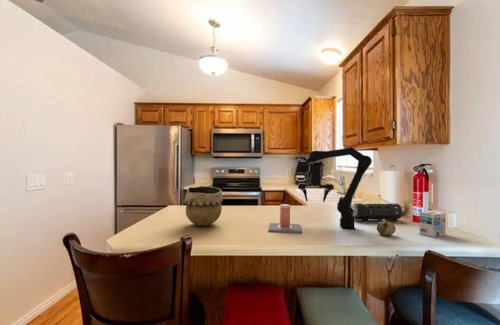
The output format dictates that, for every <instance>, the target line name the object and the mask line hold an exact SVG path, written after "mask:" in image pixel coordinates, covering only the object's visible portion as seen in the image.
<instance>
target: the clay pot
mask: <svg viewBox="0 0 500 325" xmlns="http://www.w3.org/2000/svg"><path fill="white" fill-rule="evenodd" d="M222 191H223V190H222V189H221V188H218V187H213V186H210V185H209V186H208V185H200V186H199V185H198V186H194V187H191V186H189V187H187V190H186V193H185V195H184V199H183V201H182V203H183V204H184V205H186V206H185V215H186V217H187V219H188V220H189V221H190V222H191V223H192V224H194V225H196V226H201V227H203V226H210V225H212V224H214V223H215V222H216V221H217V220H218V219H219V218H220V216H221V215H222V211H223V210H222V209H223V208H222V206H223V205H222V203H223V201H224V198H223V192H222Z"/></svg>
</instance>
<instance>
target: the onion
mask: <svg viewBox="0 0 500 325" xmlns="http://www.w3.org/2000/svg"><path fill="white" fill-rule="evenodd" d="M377 223H378V224H377V226H376V231H377V233H378V234H379V235H381V236H384V237H385V236H386V237H390V236H392V235H393V234H394V233H395V232H396V230H397V229H396V226H395V225H394V224H393V223H392V222H390V220H385V219H382V220H381V221H378V222H377Z"/></svg>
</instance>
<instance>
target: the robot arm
mask: <svg viewBox="0 0 500 325" xmlns="http://www.w3.org/2000/svg"><path fill="white" fill-rule="evenodd" d="M346 156H351V157H352V158H354V159H355V160H356V161H357V164H356V165H357V166H356V171H355V174H354V175H353V178H352V180H351V182H350V183H349V187H348V189H347V190H346V192H345V195H344V196H340V197H339V199H338V200H339V201H338V202H337V203H336V205H337V206H336V208H337V211H338V212H339V213H340V218H339V226H340V228H341V229H343V230H356V227H355V220H356V219H355V217H354V216H353V214H354V212H355V211H354V210H353V209H352V208H351V204H353V198H354V196H355V193H356V191H357V190H358V187H359V184H360V183H361V181H362V178H363V176H364V174H365V173H366V172H367V171H368V169H369V168H370V166H371V165H372V163H373V159H372V158H371V157H370V155H365V154H363V153H361V152H359V150H357V149H356V148H354V147H352V146H351V147H345V148H340V149H334V150H333V149H332V150H313V151H311V152H310V154H309V157H308V158H307V160H306V161H302V160H298V161H297V165H296V166H295V167H296V168H295V170H296V173H297V174H308V173H310V175H309V176H310V177H306V181H305V182H306V183H305V182H298V184H297V189H298V190H300V191H302V192H303V196H304V198H305V202H306V203H307V202H308V196H307V195H308V193H307V189H323V198H322V200H323V201H322V202H323V203H325V201H326V199H327V196H328V195H329V193H330V192H332V191H335V190H334V189H335V188H334V186H335V185H334V184H333V183H324V184H322V167H323V166H325V165H326V164H325V163H324V162H323V160H327V159H330V158H338V157H346Z"/></svg>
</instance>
